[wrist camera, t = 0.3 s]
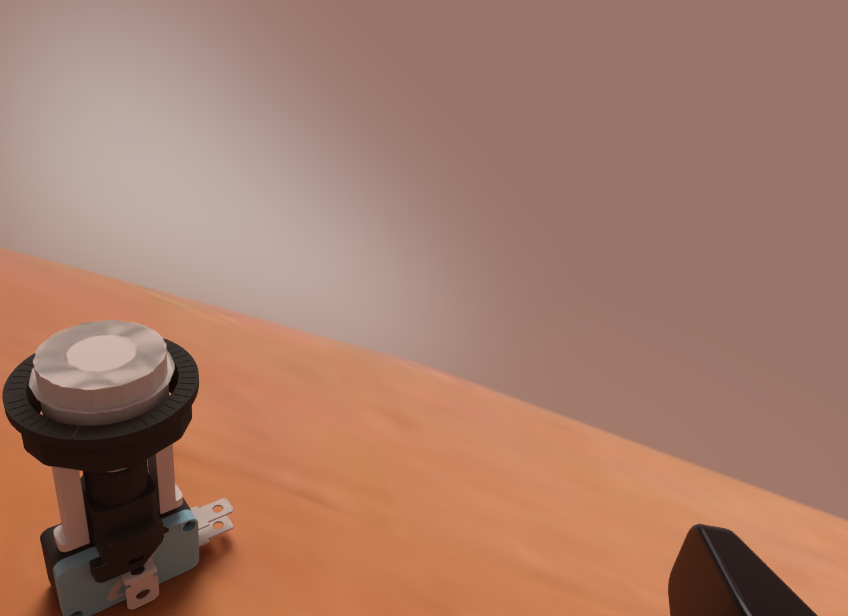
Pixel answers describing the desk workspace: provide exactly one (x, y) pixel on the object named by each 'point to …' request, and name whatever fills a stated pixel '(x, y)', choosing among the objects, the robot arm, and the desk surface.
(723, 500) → the desk surface
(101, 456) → the push button
